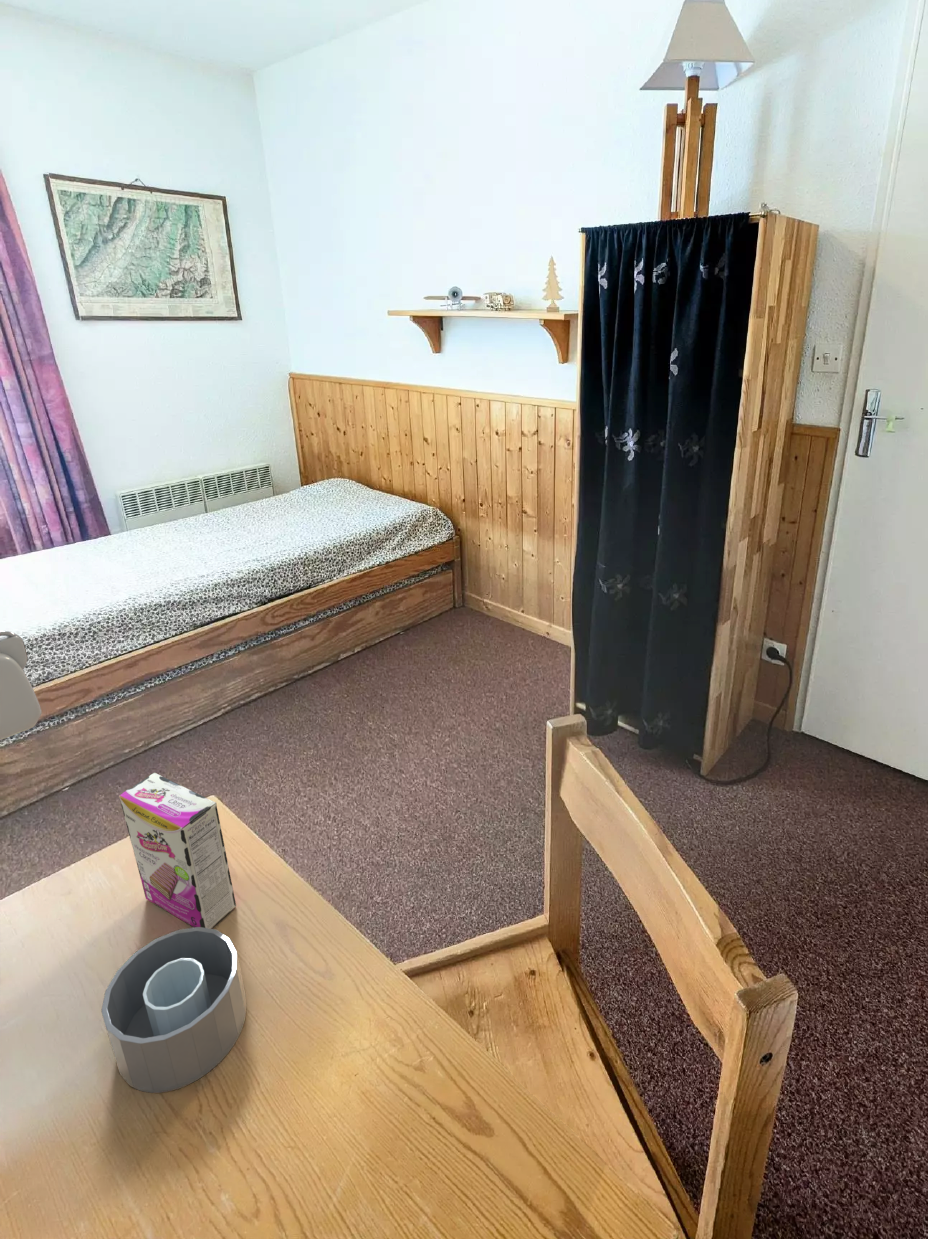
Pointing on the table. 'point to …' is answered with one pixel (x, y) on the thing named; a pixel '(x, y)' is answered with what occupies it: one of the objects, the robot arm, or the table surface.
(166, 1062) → the gray bowl
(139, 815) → the candy bar box
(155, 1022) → the light blue cup
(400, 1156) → the table surface
